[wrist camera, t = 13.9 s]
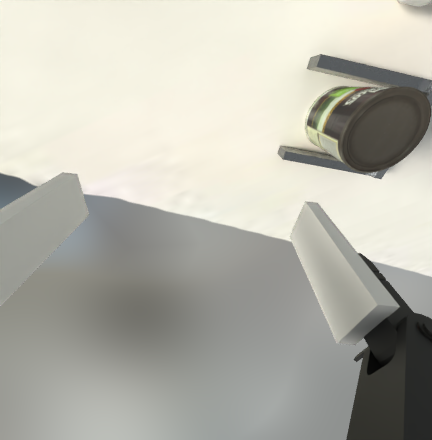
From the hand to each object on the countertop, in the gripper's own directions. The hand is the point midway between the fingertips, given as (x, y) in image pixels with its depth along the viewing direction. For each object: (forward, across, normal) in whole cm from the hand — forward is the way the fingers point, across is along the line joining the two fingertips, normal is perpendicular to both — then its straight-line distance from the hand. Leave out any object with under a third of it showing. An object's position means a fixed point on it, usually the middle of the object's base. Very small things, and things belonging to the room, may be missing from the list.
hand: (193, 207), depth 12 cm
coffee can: (+31, +22, +3) cm, 39 cm away
